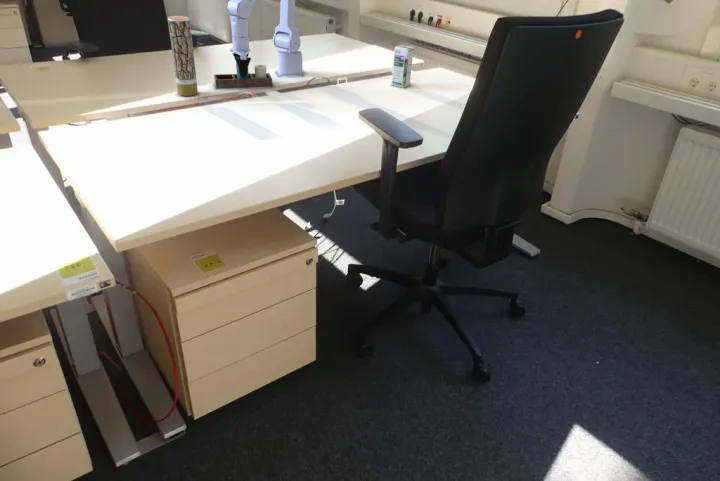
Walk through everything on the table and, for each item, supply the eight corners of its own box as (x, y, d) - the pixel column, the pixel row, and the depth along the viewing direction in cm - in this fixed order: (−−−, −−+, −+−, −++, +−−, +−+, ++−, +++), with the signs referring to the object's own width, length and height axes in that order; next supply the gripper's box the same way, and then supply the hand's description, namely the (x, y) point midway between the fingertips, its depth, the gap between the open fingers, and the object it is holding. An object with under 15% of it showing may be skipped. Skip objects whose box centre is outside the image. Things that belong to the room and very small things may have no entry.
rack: (269, 82, 204) (268, 72, 202) (272, 87, 198) (272, 78, 197) (214, 84, 199) (213, 74, 197) (216, 89, 193) (215, 80, 191)
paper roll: (248, 77, 200) (247, 59, 196) (249, 80, 196) (248, 62, 193) (236, 78, 198) (235, 60, 195) (237, 81, 195) (236, 63, 192)
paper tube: (192, 97, 184) (183, 20, 171) (174, 95, 185) (163, 18, 172) (201, 92, 190) (193, 16, 176) (183, 90, 191) (174, 14, 177)
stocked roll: (265, 82, 202) (265, 64, 199) (267, 85, 199) (266, 67, 195) (254, 82, 201) (253, 64, 198) (256, 85, 198) (255, 67, 194)
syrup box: (390, 85, 209) (394, 46, 201) (397, 82, 213) (400, 44, 206) (404, 88, 207) (408, 49, 199) (410, 84, 211) (414, 46, 204)
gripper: (226, 31, 194) (229, 69, 201) (230, 41, 182) (233, 81, 190) (246, 31, 196) (248, 69, 203) (251, 40, 184) (253, 80, 191)
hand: (242, 75), depth 196 cm, fingers closed on paper roll, 4 cm apart
